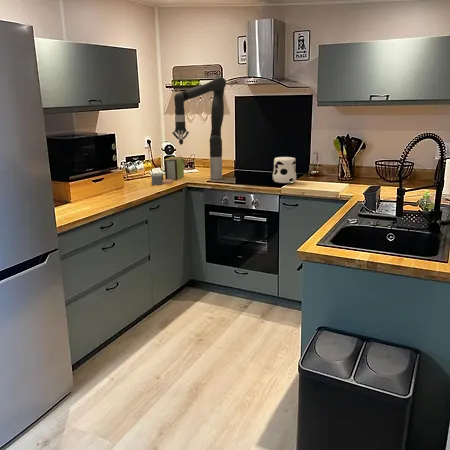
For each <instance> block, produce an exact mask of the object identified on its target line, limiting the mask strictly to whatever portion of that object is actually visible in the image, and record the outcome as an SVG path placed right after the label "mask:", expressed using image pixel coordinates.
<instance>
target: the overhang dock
mask: <svg viewBox="0 0 450 450" xmlns="http://www.w3.org/2000/svg"><path fill="white" fill-rule="evenodd" d="M150 178H151V185H152V186H159V185H160V186H162V185H163V184H162V179H164V173H163V172H155V173H153V174H152V175H151V177H150Z"/></svg>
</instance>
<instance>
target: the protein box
mask: <svg viewBox="0 0 450 450" xmlns="http://www.w3.org/2000/svg"><path fill="white" fill-rule="evenodd" d="M163 163H164V177H165V178H164V179H173V181H179V180H180V179H182V178H183V177H185V170H184V169H185V167H184V166H185V165H184V157H183V156H170V157H167V158H165V159H164V162H163Z"/></svg>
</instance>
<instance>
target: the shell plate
mask: <svg viewBox="0 0 450 450" xmlns="http://www.w3.org/2000/svg"><path fill="white" fill-rule="evenodd" d="M173 183H174V180H173V179H165V178H163V179H162V185H172V184H173Z"/></svg>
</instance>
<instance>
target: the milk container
mask: <svg viewBox="0 0 450 450" xmlns="http://www.w3.org/2000/svg"><path fill="white" fill-rule="evenodd" d="M296 162H297V161H296V157H292V156H278V157H275V158H274V159H273V173H272V181H273V182H274V183H276V184H280V185H287V184H288V183H290V184H292V183H291V182H294V181H295V182H296V180H297V173H296V166H297V165H296ZM295 182H294V183H295ZM288 185H289V184H288Z"/></svg>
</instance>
